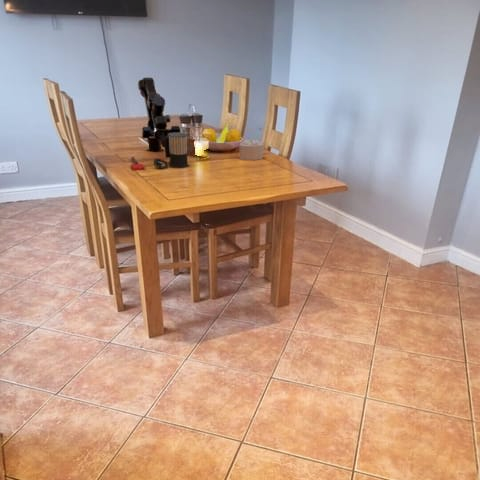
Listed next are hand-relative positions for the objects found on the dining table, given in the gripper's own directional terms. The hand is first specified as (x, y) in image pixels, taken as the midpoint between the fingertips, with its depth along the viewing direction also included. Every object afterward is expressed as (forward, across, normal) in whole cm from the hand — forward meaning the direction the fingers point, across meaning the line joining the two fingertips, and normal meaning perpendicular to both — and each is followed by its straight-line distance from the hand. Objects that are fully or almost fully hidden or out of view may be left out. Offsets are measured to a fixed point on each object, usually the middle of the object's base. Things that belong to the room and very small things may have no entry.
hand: (164, 146), depth 226 cm
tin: (-2, +18, +13) cm, 23 cm away
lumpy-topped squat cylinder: (+6, +46, +5) cm, 47 cm away
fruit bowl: (-12, +37, +22) cm, 45 cm away
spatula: (+6, -15, +4) cm, 17 cm away
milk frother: (+12, +1, -1) cm, 12 cm away
